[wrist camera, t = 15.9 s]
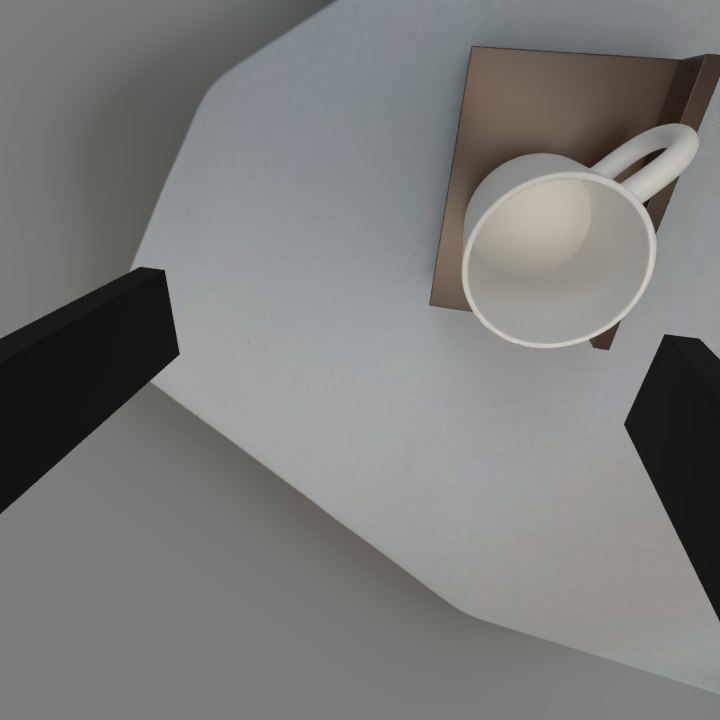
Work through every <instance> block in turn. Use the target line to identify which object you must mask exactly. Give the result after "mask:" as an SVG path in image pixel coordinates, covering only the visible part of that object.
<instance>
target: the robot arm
mask: <svg viewBox="0 0 720 720" xmlns="http://www.w3.org/2000/svg"><path fill="white" fill-rule="evenodd" d="M179 354H180V353H179V348H178V342H177V336H176V331H175V325H174V320H173V314H172V308H171V303H170V297H169V292H168V286H167V281H166V275H165V270H160V269H152V268H144V267H139V268H137V269H135V270H133V271H131V272H129V273H127V274H125V275H123V276H122V277H120V278H118V279H116V280H114V281H112V282H110V283H108V284H106V285H104V286H102V287H100V288H98V289H96V290H95V291H93V292H90V293H89V294H87V295H85V296H83V297H81V298H79V299H77V300H75V301H73V302H71V303H69V304H68V305H65V306H63V307H61V308H59V309H57V310H55V311H53V312H52V313H50V314H48V315H46V316H44V317H42V318H40V319H38V320H36V321H34V322H32V323H30V324H28V325H26V326H24V327H23V328H20V329H18V330H16V331H15V332H13V333H11V334H9V335H7V336H5V337H3V338H1V339H0V514H1V513H2V512H3V511H4V510H5V509H6V508H8V507H9V506H10V505H11V504H12V503H13V502H14V501H15V500H17V499H18V497H20V496H21V495H22V494H23V493H24V492H26V491H27V490H28V489H29V488H30V487H31V486H32V485H33V484H34V483H36V482H37V481H38V480H39V479H40V478H41V477H42V476H43V475H45V474H46V473H47V472H48V471H49V470H50V469H51V468H52V467H54V466H55V465H56V464H57V463H58V462H59V461H60V460H61V459H63V458H64V457H65V456H66V455H67V454H68V453H69V452H70V451H71V450H72V449H74V448H75V447H76V446H77V445H78V444H79V443H81V442H82V440H84V439H85V438H86V437H87V436H88V435H89V434H91V433H92V432H93V431H94V430H95V429H96V428H97V427H99V426H100V425H101V424H102V423H103V422H104V421H105V420H106V419H108V418H109V417H110V416H111V415H112V414H113V413H114V412H115V411H116V410H118V409H119V408H120V407H121V406H122V405H123V404H124V403H125V402H127V401H128V400H129V399H130V398H131V397H132V396H133V395H134V394H136V393H137V392H138V391H139V390H140V389H141V388H142V387H143V386H145V385H146V384H147V383H148V382H149V381H150V380H151V379H152V378H154V377H155V376H156V375H157V374H158V373H159V372H160V371H161V370H163V369H164V368H165V367H166V366H167V365H168V364H169V363H170V362H172V361H173V360H174V359H175V358H176V357H177V356H178V355H179ZM624 425H625V428H626V430H627V432H628V434H629V436H630V438H631V440H632V442H633V444H634V446H635V448H636V450H637V452H638V454H639V456H640V458H641V460H642V463H643V465H644V467H645V469H646V471H647V473H648V475H649V477H650V479H651V481H652V483H653V485H654V487H655V489H656V491H657V493H658V495H659V497H660V500H661V502H662V504H663V506H664V508H665V510H666V512H667V514H668V516H669V518H670V520H671V522H672V524H673V526H674V528H675V530H676V532H677V535H678V537H679V539H680V541H681V543H682V545H683V547H684V549H685V551H686V553H687V555H688V557H689V559H690V561H691V563H692V565H693V567H694V570H695V572H696V574H697V576H698V578H699V580H700V582H701V584H702V586H703V588H704V590H705V592H706V594H707V596H708V598H709V600H710V602H711V604H712V607H713V609H714V611H715V613H716V615H717V617H718V619H719V621H720V359H719V358H718V357H717V356H716V355H715V354H714V353H713V352H712V351H711V350H710V349H709V348H708V347H707V346H706V345H705V344H704V343H703V342H702V341H701V340H700V339H698V338H690V337H682V336H674V335H666V334H665V335H664V337H663V339H662V341H661V343H660V346H659V348H658V350H657V352H656V355H655V357H654V359H653V361H652V363H651V366H650V368H649V370H648V372H647V374H646V377H645V379H644V381H643V383H642V385H641V388H640V390H639V392H638V394H637V397H636V399H635V401H634V403H633V405H632V408H631V410H630V412H629V414H628V416H627V419H626V421H625V423H624Z"/></svg>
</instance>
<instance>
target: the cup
mask: <svg viewBox="0 0 720 720" xmlns="http://www.w3.org/2000/svg"><path fill="white" fill-rule="evenodd" d="M698 147H699V138H698V135H697V133H696V131H695V130H693V129H692V128H691V127H689V126H687V125H683V124H675V123H674V124H667V125H662V126H658V127H655V128H652V129H650V130H648V131H645V132H643V133H641V134H640V135H638V136H636V137H634V138H633V139H631V140H629V141H628V142H626V143H625V144H623V145H622V146H620V147H619V148H617V149H616V150H614V151H613V152H611V153H610V154H609V155H607V156H606V157H605V158H603V159H602V160H601V161H599V162H598V163H597V164H595V165H594V166H593V167H591V168H588V167H586V166H584V165H582V164H580V163H578V162H576V161H574V160H572V159H569V158H567V157H564V156H560V155H556V154H550V153H534V154H528V155H524V156H520V157H517V158H514V159H512V160H510V161H508V162H506V163H504V164H502V165H501V166H499V167H498V168H496V169H495V170H494V171H492V172H491V173H490V174H489V175H488V176H487V177H486V178H485V179H484V180H483V181H482V182H481V184H480V185H479V186H478V188H477V189H476V190H475V192H474V194H473V196H472V198H471V200H470V202H469V204H468V207H467V210H466V214H465V219H464V230H463V251H462V283H463V289H464V293H465V296H466V298H467V301H468V303H469V305H470V307H471V309H472V311H473V312H474V314H475V315H476V316H477V318H478V319H479V320H480V321H481V322H482V323H483V324H484V325H485V326H486V327H487V328H488V329H489V330H491V331H492V332H493V333H495V334H496V335H498V336H500V337H502V338H504V339H506V340H508V341H510V342H513V343H516V344H519V345H523V346H528V347H535V348H557V347H565V346H569V345H574V344H577V343H581V342H583V341H586V340H589V339H591V338H593V337H595V336H598V335H599V334H601V333H603V332H605V331H606V330H608V329H609V328H611V327H612V326H614V325H615V324H616V323H618V322H619V321H620V320H621V319H622V318H623V317H624V316H626V315H627V314H628V313H629V312H630V310H631V309H632V308H633V307H634V306H635V305H636V303H637V302H638V301H639V299H640V298H641V296H642V295H643V293H644V291H645V290H646V287H647V285H648V283H649V281H650V279H651V276H652V273H653V269H654V266H655V260H656V247H657V245H656V235H655V231H654V227H653V224H652V221H651V218H650V216H649V214H648V212H647V210H646V209H645V207H644V206H643V204H642V203H644V202H645V201H647V200H648V199H649V198H651V197H652V196H653V195H655V194H656V193H657V192H659V191H660V190H661V189H663V188H664V187H665V186H667V185H668V184H669V183H670V182H672V181H673V180H674V179H675V178H676V177H678V176H679V175H680V174H681V173H682V172H683V171H684V170H685V169H686V168H687V167H688V166H689V164H690V163H691V162H692V160H693V159H694V157H695V156H696V154H697V151H698ZM662 148H667V149H666V150H665V151H664V152H663V153H662V154H661V155H660V156H658V157H657V158H656V159H654V160H653V161H652V162H650V163H649V164H648V165H646V166H645V167H643V168H642V169H641V170H639V171H638V172H636V173H635V174H634V175H632V176H631V177H629V178H628V179H626V180H625V181H624V182H622V183H621V184H619V183H617V182H616V181H614V180H613V179H614V178H615V177H617V176H618V175H619V174H620V173H621V172H623V171H624V170H625V169H626V168H628V167H629V166H630V165H632V164H633V163H635V162H636V161H638V160H639V159H641V158H642V157H644V156H646V155H647V154H649V153H651V152H653V151H656V150H658V149H662Z"/></svg>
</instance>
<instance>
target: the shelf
mask: <svg viewBox="0 0 720 720" xmlns="http://www.w3.org/2000/svg"><path fill="white" fill-rule="evenodd" d="M719 77H720V55H716V54H704V55H700V56H695V57H691V58H686V59H682V60H679V59H664V58H648V57H633V56H618V55H602V54H587V53H572V52H556V51H541V50H525V49H510V48H495V47H479V46H472V47H471V53H470V59H469V65H468V71H467V77H466V83H465V89H464V95H463V102H462V108H461V114H460V120H459V126H458V132H457V138H456V144H455V150H454V157H453V163H452V169H451V175H450V181H449V187H448V193H447V199H446V205H445V212H444V218H443V224H442V230H441V236H440V242H439V248H438V254H437V260H436V266H435V273H434V279H433V285H432V291H431V297H430V303H429V305H431V306H437V307H444V308H451V309H457V310H464V311H471V312H473V311H472V309H471V307H470V305H469V303H468V301H467V298H466V296H465V293H464V289H463V283H462V251H463V230H464V219H465V214H466V210H467V207H468V204H469V202H470V200H471V198H472V196H473V194H474V192H475V190H476V189H477V188H478V186H479V185H480V184H481V182H482V181H483V180H484V179H485V178H486V177H487V176H488V175H489V174H490V173H491V172H492V171H494V170H495V169H496V168H498V167H499V166H501V165H502V164H504V163H506V162H508V161H510V160H512V159H514V158H517V157H520V156H524V155H528V154H534V153H550V154H556V155H560V156H564V157H567V158H569V159H572V160H574V161H576V162H578V163H580V164H582V165H584V166H586V167H588V168H591V167H593V166H594V165H595V164H597V163H598V162H599V161H601V160H602V159H603V158H605V157H606V156H607V155H609V154H610V153H611V152H613V151H614V150H616V149H617V148H619V147H620V146H622V145H623V144H625V143H626V142H628V141H629V140H631V139H633V138H634V137H636V136H638V135H640V134H641V133H643V132H645V131H648V130H650V129H652V128H655V127H658V126H662V125H667V124H674V123H675V124H683V125H687V126H689V127H691V128H692V129H693V130H695V131H696V133H697V131H698V129H699V127H700V124H701V122H702V119H703V117H704V114H705V112H706V109H707V107H708V104H709V102H710V99H711V97H712V94H713V92H714V90H715V87H716V85H717V82H718V80H719ZM666 149H667V148H662V149H658V150H656V151H653V152H651V153H649V154H647V155H646V156H644V157H642V158H641V159H639V160H638V161H636V162H635V163H633V164H632V165H630V166H629V167H628V168H626V169H625V170H624V171H623V172H621V173H620V174H619V175H618V176H617V177H615V178H614V179H613V180H614V181H616V182H617V183H619V184H621V183H622V182H624V181H625V180H626V179H628V178H629V177H631V176H632V175H634V174H635V173H636V172H638V171H639V170H641V169H642V168H643V167H645V166H646V165H648V164H649V163H650V162H652V161H653V160H654V159H656V158H657V157H658V156H660V155H661V154H662V153H663V152H664V151H665V150H666ZM679 176H680V175H679ZM679 176H678V177H676V178H675V179H674V180H673V181H672V182H670V183H669V184H668V185H667V186H665V187H664V188H663V189H661V190H660V191H659V192H657V193H656V194H655V195H653V196H652V197H651V198H649V199H648V200H647V201H645V202H644V203H642V204H643V206H644V207H645V209H646V210H647V212H648V214H649V216H650V218H651V221H652V224H653V227H654V231H655V235H656V232H657V230H658V228H659V225H660V223H661V220H662V218H663V215H664V213H665V210H666V208H667V205H668V203H669V200H670V198H671V196H672V193H673V191H674V188H675V186H676V183H677V181H678V178H679ZM620 321H621V320H620ZM620 321H619V322H618V323H616V324H615V325H614V326H612V327H611V328H609V329H608V330H606V331H605V332H603V333H601V334H599V335H598V336H595V337H593V338H591V339H589V341H590V342H591V344H592V346H593V348H598V349H605V350H609V348H610V346H611V343H612V341H613V338H614V336H615V334H616V331H617V329H618V326H619V324H620Z"/></svg>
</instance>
